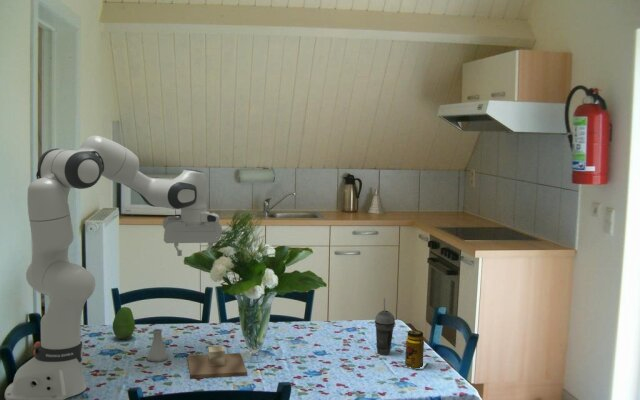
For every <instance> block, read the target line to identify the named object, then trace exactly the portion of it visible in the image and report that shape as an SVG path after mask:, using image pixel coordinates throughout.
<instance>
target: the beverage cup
mask: <svg viewBox="0 0 640 400" xmlns="http://www.w3.org/2000/svg"><path fill="white" fill-rule="evenodd" d="M395 325H396V321H395V317H394V314H392V312H390V311H388V310H386V298H385V297H383V310H381V311H379V312H378V313H377V314H376V315H375V319H374V327H375V334H376V335H375V336H376V351H377V353H376V354H378V355H379V354H380V355H379V356H390V354H391V349H392V348H391V347H392V343H393V340H392V339H393V332H394V328H395Z"/></svg>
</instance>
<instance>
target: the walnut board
mask: <svg viewBox="0 0 640 400" xmlns="http://www.w3.org/2000/svg"><path fill="white" fill-rule="evenodd" d="M187 365H188V371H189V378H190V379H191V380H193V379H205V378H206V379H208V378H209V379H210V378H226V377H245V376H248V370H247V367H246V365H245V362H244V360H243V357H242V353H241V352H235V353H225V366H211V367H209V363H208V354H195V355H193V354H192V355H187Z"/></svg>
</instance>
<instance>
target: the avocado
mask: <svg viewBox="0 0 640 400" xmlns="http://www.w3.org/2000/svg"><path fill="white" fill-rule="evenodd" d="M135 323H136V321H135V318H134V315H133V312H132V310H131V308H130V307H127V306H124V307H121V308H119V309H118V311H117V312H116V314H115V317H114V318H113V322H112V331H113V334H114V336H115V337H116V338H117V339H119V340H127V339H129V338H131V337H132V335H133V334H134V331H135V327H136V324H135Z"/></svg>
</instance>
